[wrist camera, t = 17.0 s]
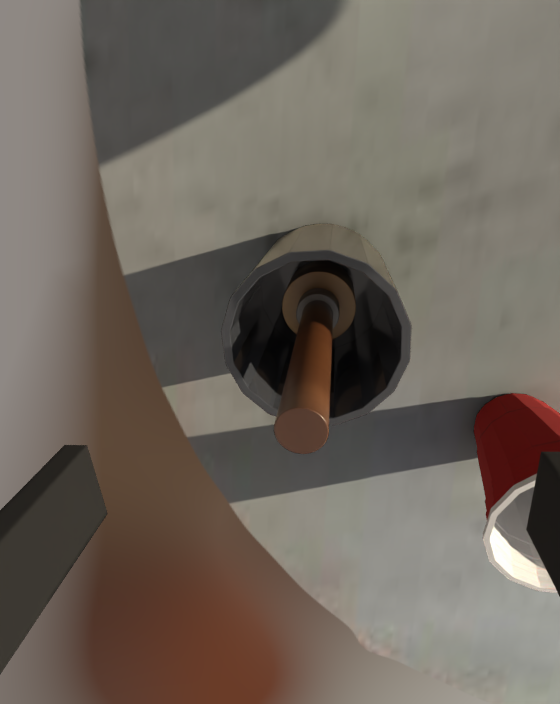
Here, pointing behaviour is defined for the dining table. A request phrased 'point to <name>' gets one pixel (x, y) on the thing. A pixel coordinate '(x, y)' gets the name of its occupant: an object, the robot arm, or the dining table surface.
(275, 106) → the dining table surface
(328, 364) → the brush
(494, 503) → the plastic cup
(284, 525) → the dining table surface
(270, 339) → the grey cylindrical container
